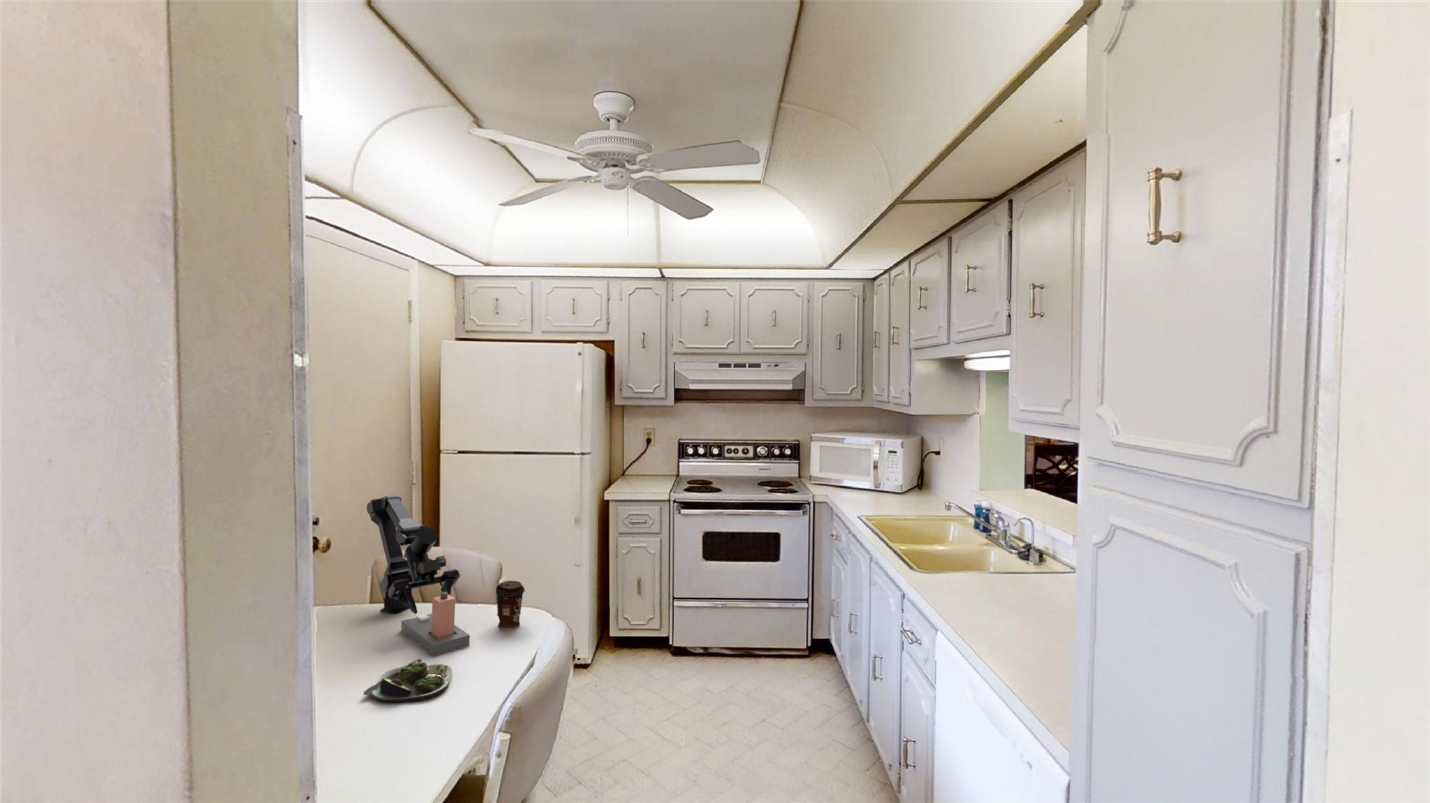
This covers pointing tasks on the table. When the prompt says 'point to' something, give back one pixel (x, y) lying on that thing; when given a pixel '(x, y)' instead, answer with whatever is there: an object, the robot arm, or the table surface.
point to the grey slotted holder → (422, 636)
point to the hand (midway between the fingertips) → (432, 609)
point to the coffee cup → (509, 604)
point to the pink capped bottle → (443, 616)
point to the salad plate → (411, 683)
